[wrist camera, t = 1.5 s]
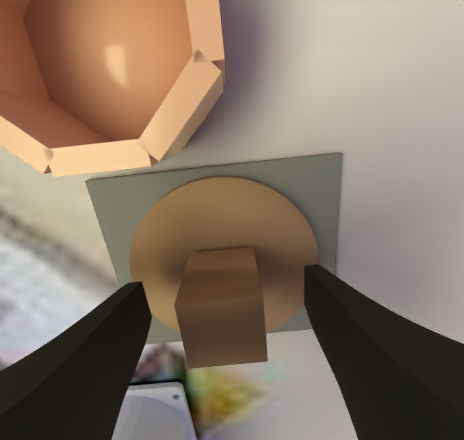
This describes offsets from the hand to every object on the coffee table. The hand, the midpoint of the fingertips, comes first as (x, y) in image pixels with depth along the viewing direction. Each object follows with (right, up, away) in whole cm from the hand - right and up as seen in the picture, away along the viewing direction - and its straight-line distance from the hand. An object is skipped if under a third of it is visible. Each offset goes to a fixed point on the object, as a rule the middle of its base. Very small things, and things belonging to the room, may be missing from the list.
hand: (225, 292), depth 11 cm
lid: (0, +1, +2) cm, 3 cm away
